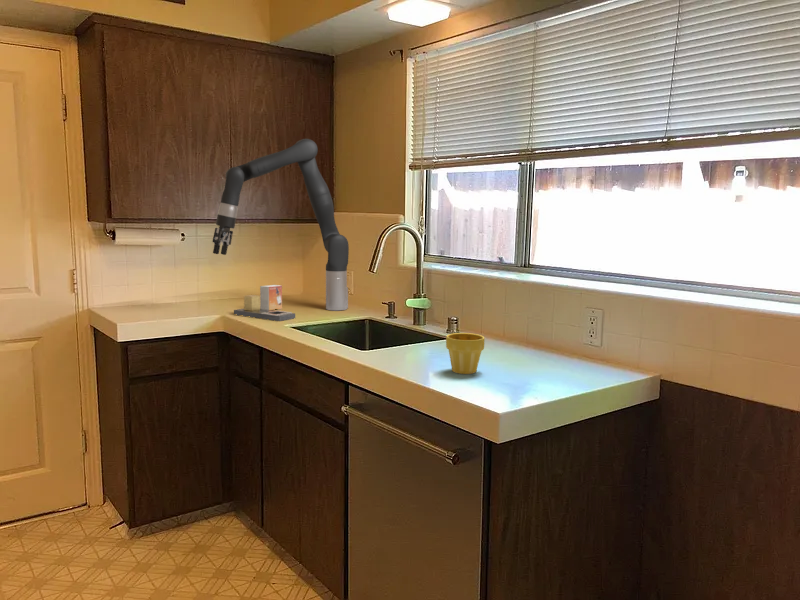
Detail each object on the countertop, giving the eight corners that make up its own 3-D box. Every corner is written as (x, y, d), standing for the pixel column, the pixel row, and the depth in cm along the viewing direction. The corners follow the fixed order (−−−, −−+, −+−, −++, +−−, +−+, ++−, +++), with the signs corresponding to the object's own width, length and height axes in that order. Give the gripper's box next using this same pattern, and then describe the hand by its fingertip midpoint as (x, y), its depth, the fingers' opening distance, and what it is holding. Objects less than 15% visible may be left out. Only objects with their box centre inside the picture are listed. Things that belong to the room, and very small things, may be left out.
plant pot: (480, 377, 170) (481, 341, 169) (442, 374, 173) (442, 338, 172) (485, 368, 180) (487, 334, 179) (449, 365, 183) (450, 331, 182)
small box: (268, 311, 279) (268, 286, 277) (260, 309, 282) (259, 285, 281) (282, 309, 285) (282, 285, 284) (274, 307, 289) (273, 284, 287)
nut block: (252, 313, 271) (252, 294, 270) (260, 314, 268) (259, 295, 267) (244, 315, 267) (243, 295, 266) (251, 316, 265) (251, 296, 264)
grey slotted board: (250, 312, 275) (250, 306, 274) (295, 318, 260) (295, 312, 260) (233, 314, 267) (233, 309, 267) (279, 321, 253) (279, 315, 253)
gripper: (229, 215, 257) (221, 255, 258) (241, 218, 272) (234, 256, 273) (211, 212, 258) (204, 251, 259) (224, 215, 272) (217, 252, 273)
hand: (219, 254), depth 266 cm, fingers open, 8 cm apart
